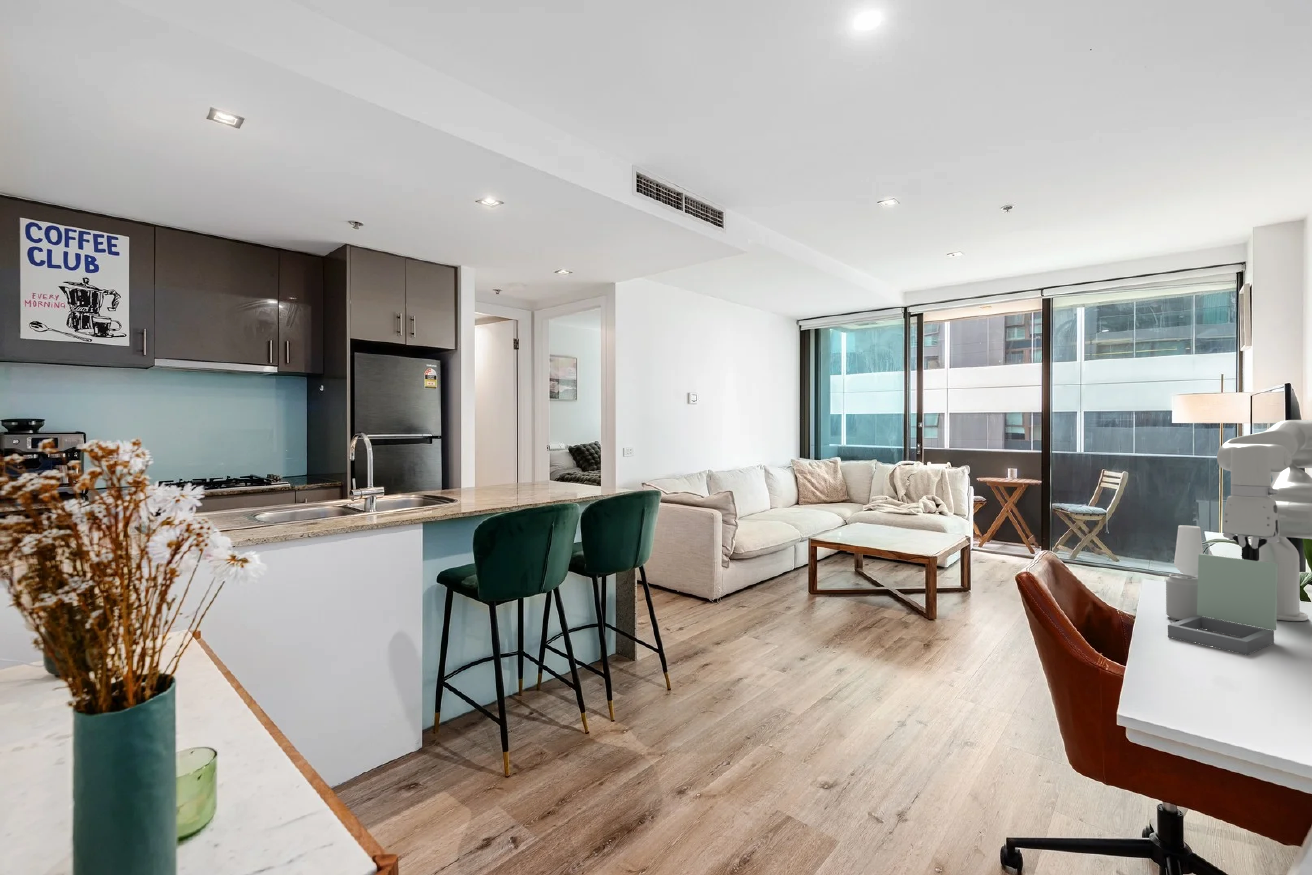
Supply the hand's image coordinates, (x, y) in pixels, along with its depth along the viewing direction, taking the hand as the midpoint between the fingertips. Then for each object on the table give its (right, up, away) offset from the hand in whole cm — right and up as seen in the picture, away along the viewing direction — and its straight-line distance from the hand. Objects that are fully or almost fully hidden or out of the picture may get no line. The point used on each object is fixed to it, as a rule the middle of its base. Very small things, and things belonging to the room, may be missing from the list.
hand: (1250, 562), depth 162 cm
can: (-11, -17, +8) cm, 22 cm away
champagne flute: (-2, -17, +16) cm, 24 cm away
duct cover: (-8, -6, -5) cm, 11 cm away
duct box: (-16, -17, -9) cm, 25 cm away
